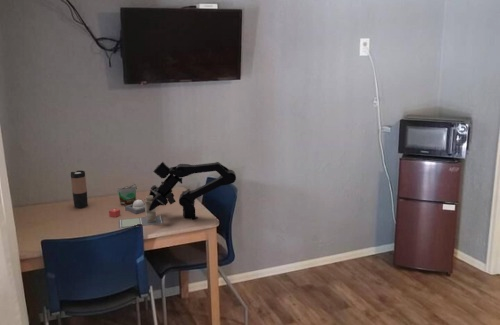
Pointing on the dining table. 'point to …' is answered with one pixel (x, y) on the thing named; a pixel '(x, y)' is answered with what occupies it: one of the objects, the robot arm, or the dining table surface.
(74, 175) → the travel mug
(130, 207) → the dome housing
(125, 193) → the food container
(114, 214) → the red die
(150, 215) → the capped square post
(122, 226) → the board
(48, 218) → the dining table surface
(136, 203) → the dome button
